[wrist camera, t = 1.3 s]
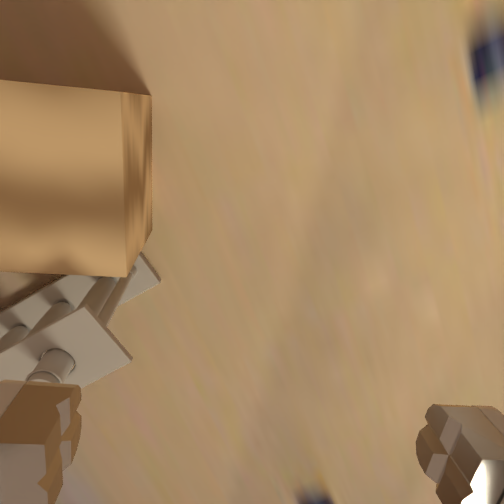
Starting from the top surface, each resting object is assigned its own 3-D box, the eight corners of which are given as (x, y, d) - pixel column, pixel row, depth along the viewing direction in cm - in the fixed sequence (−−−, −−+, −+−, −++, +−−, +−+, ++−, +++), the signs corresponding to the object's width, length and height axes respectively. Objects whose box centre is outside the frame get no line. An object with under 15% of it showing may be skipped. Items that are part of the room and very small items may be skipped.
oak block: (-62, 74, 25) (-204, 59, 17) (151, 95, 26) (120, 91, 18) (-34, 217, 28) (-139, 264, 20) (152, 229, 30) (126, 277, 22)
